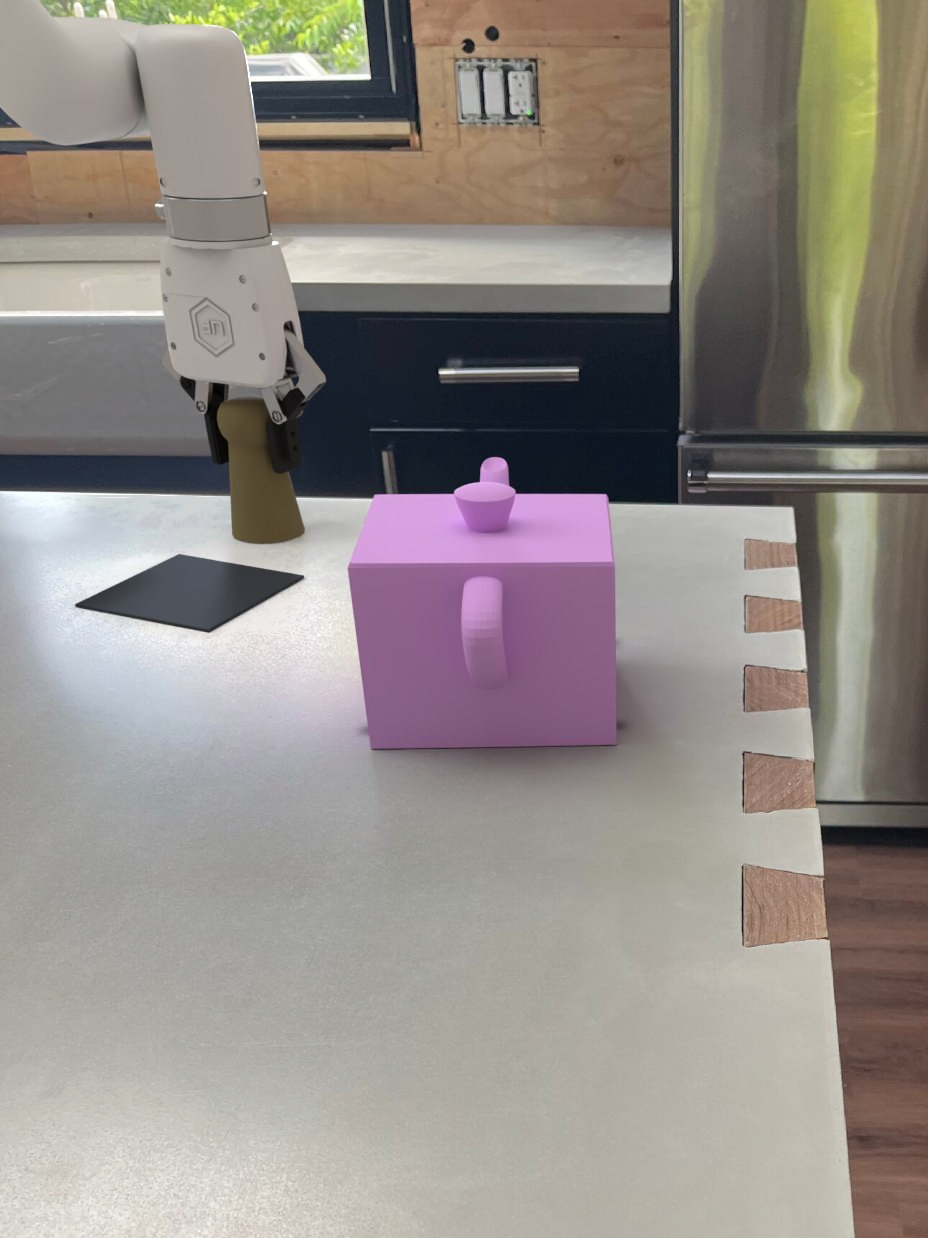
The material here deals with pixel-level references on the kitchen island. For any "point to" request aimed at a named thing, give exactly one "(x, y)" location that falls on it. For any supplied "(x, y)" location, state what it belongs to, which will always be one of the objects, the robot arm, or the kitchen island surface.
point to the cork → (256, 476)
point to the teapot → (486, 617)
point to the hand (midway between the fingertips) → (257, 462)
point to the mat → (191, 592)
